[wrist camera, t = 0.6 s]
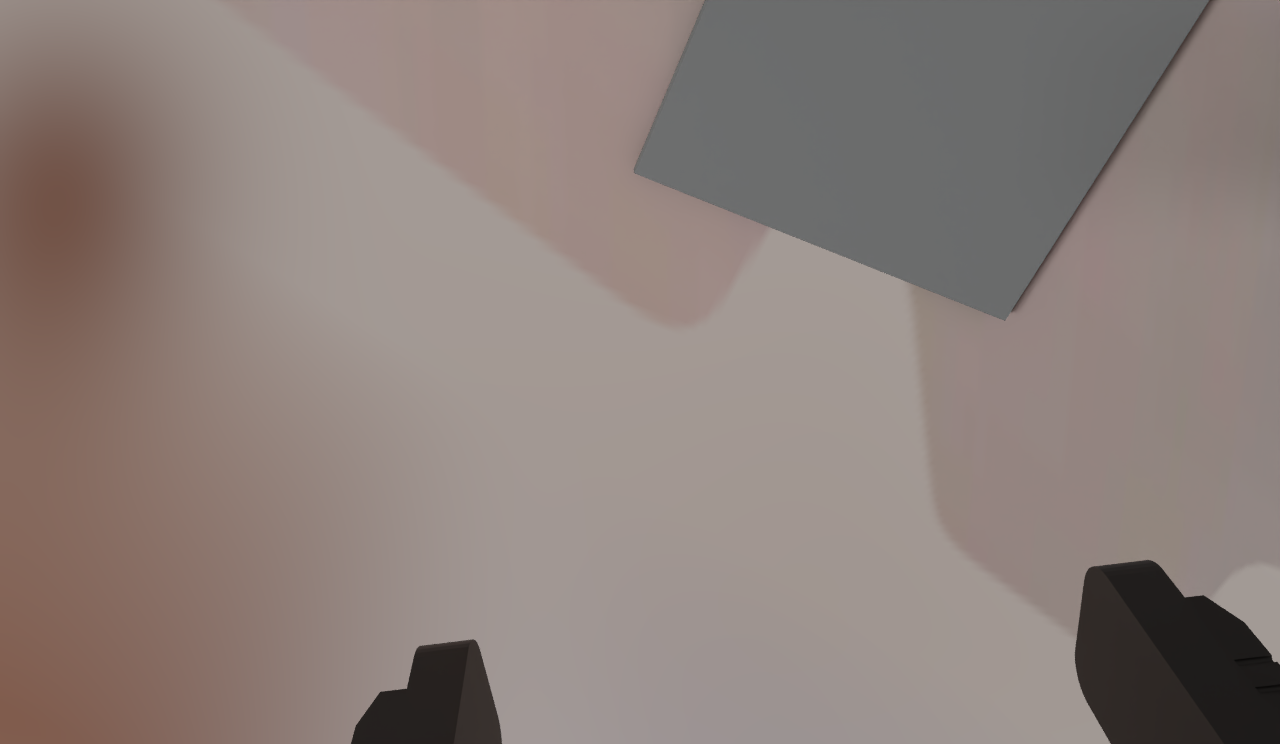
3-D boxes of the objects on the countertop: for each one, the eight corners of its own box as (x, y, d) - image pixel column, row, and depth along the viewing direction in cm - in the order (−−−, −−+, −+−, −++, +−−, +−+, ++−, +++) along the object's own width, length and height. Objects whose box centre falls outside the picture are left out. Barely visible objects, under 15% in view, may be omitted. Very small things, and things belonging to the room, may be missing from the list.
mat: (840, -320, 29) (843, -323, 29) (1257, -91, 33) (1266, -90, 32) (633, 169, 35) (634, 173, 35) (1000, 315, 39) (1005, 320, 39)
